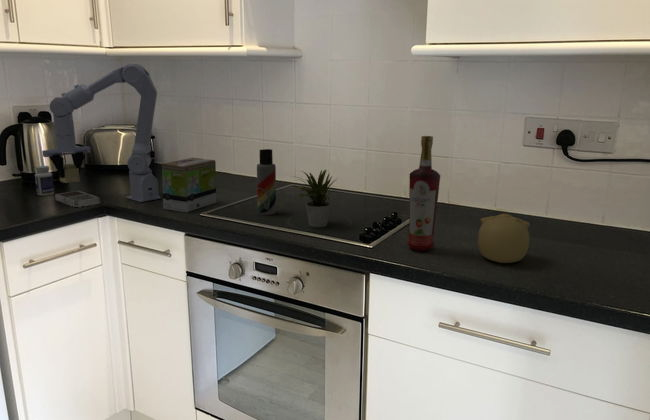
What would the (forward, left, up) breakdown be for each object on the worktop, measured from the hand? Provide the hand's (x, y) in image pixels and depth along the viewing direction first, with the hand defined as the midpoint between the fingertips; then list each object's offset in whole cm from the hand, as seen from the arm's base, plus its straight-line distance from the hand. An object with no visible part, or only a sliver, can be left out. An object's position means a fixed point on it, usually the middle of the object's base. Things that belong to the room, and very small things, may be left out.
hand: (69, 176), depth 174 cm
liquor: (-112, -37, -8) cm, 118 cm away
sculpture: (-130, -44, -8) cm, 137 cm away
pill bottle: (+15, +2, -8) cm, 17 cm away
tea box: (-35, -23, -8) cm, 42 cm away
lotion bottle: (-59, -34, -8) cm, 68 cm away
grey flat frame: (-4, 0, -8) cm, 9 cm away
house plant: (-78, -36, -8) cm, 86 cm away
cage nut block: (0, 0, -2) cm, 2 cm away
